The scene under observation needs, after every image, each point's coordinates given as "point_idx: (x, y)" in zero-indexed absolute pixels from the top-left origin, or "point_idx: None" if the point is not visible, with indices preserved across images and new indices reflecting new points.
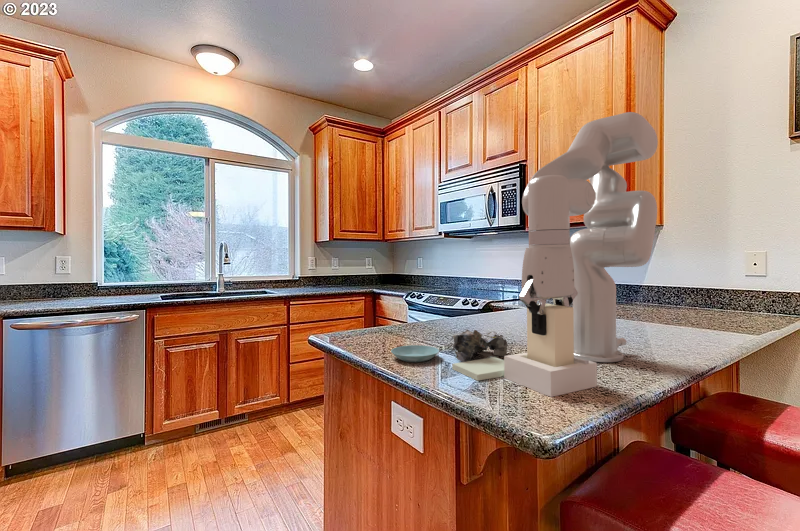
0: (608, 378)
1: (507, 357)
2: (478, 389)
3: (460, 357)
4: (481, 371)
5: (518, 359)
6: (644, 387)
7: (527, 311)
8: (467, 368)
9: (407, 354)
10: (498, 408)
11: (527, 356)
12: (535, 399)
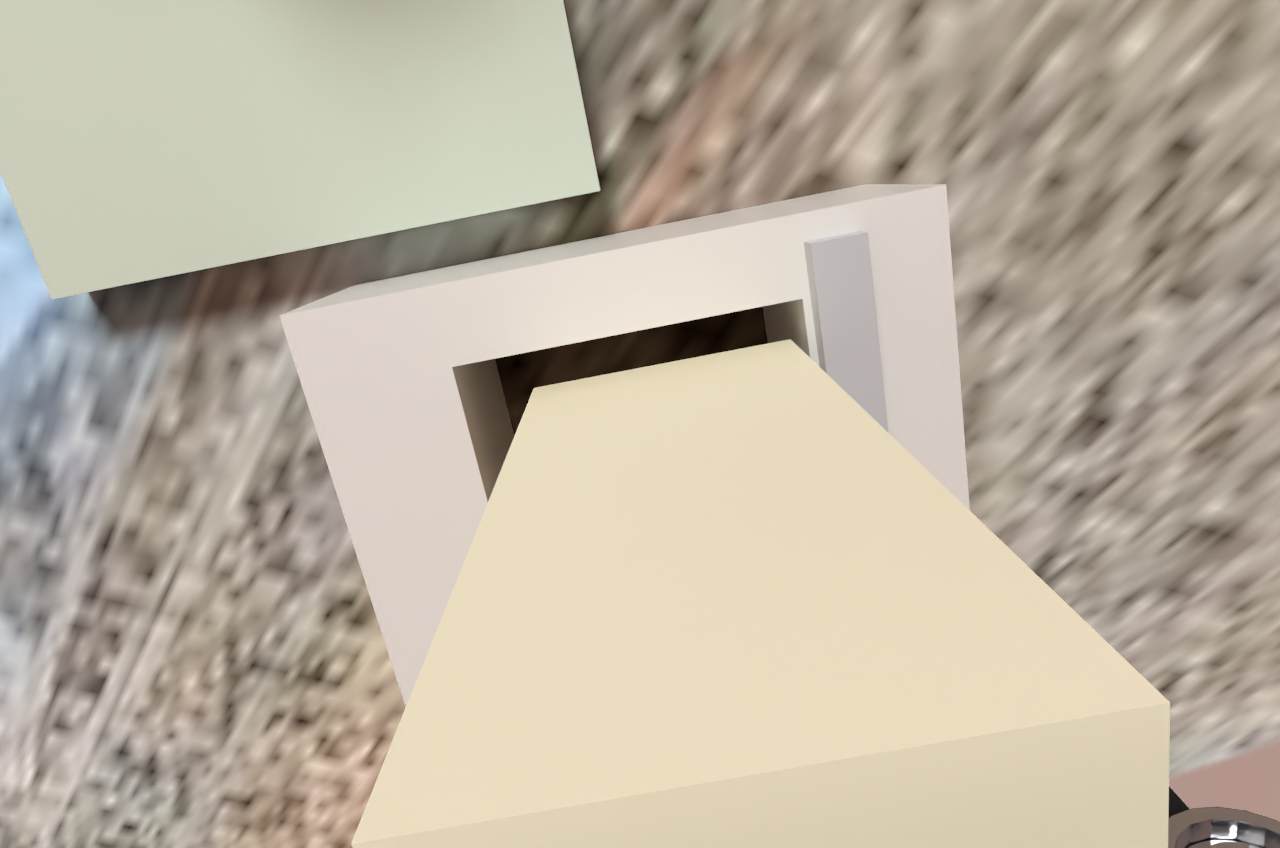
0: (1144, 517)
1: (298, 364)
2: (38, 476)
3: None
4: (122, 212)
5: (369, 481)
6: (1180, 716)
7: (411, 725)
8: (1, 68)
9: None
10: (73, 784)
11: (531, 395)
12: (364, 723)
